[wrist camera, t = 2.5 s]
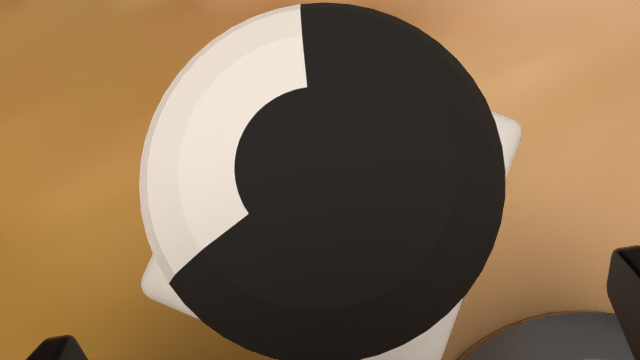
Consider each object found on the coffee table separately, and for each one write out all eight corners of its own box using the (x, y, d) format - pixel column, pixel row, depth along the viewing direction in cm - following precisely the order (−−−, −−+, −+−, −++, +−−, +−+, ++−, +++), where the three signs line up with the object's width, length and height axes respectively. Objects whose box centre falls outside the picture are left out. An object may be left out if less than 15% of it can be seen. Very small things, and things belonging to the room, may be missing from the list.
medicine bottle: (473, 175, 21) (619, 34, 9) (401, 371, 20) (459, 497, 8) (285, 105, 22) (197, -106, 10) (207, 290, 21) (9, 296, 9)
